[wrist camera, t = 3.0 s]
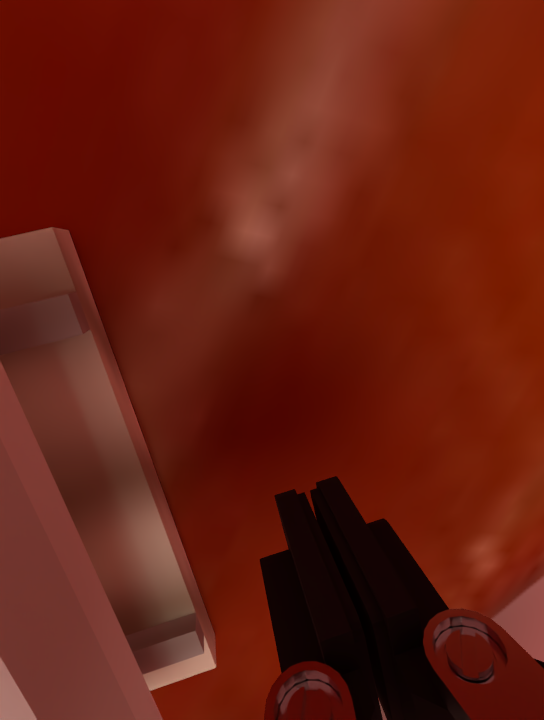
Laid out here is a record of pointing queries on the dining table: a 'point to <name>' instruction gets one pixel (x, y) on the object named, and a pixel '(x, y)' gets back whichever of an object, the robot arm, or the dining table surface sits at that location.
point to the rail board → (99, 454)
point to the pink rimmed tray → (54, 599)
